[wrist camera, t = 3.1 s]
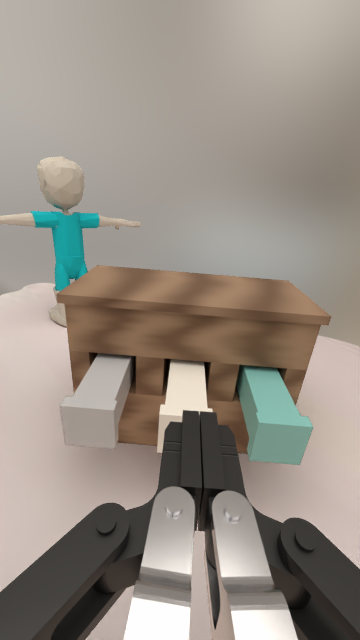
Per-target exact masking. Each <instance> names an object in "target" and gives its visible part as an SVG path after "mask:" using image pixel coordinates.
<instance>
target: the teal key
mask: <svg viewBox="0 0 360 640" xmlns="http://www.w3.org/2000/svg"><path fill="white" fill-rule="evenodd" d="M236 386H237V390H238V394H239V398H240V402H241V407H242V411H243V415H244V419H245V423H246V427H247V431H248V435H249V443H248V447H247V452H248V457H249V461H260V462H272V463H284V464H296V465H300V462H301V459H302V457H303V454H304V451H305V449H306V446H307V443H308V440H309V438H310V435H311V432H312V429H313V426H312V424H311V422H310V420H309V418H308V417H306V416H301V415H300V413H299V411H298V409H297V408H296V406H295V404H294V402H293V400H292V398H291V396H290V394H289V392H288V390H287V388H286V386H285V384H284V382H283V380H282V378H281V376H280V374H279V372H278V370H277V368H275V367H263V366H251V365H240V368H239V374H238V379H237V384H236Z"/></svg>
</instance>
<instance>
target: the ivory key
mask: <svg viewBox="0 0 360 640" xmlns="http://www.w3.org/2000/svg"><path fill="white" fill-rule="evenodd" d="M183 410H190V411H199V414H200V411H205V412H213V410H212V409H211V408H208V407H207V395H206V382H205V369H204V362H203V361H191V360H179V359H171V362H170V369H169V377H168V385H167V393H166V401H165V405H163V404H161V406H160V413H159V429H158V447H157V453H162V451H163V442H164V433H165V429H166V428H167V426H168V425H169V423H170V421H172V422H182V415H183Z"/></svg>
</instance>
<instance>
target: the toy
mask: <svg viewBox="0 0 360 640" xmlns="http://www.w3.org/2000/svg"><path fill="white" fill-rule="evenodd" d="M37 170H38V176H39V181H40V188H41V191H42V193H43V195H44V197H45V199H46V201H47V202H48V203H50V204H51V205H53V206H54V207H56V208H59V209H62V210H63V213H61V212H39V211H31V213H25V214H16V215H7V216H0V224H8V225H21V226H33V227H37V228H38V227H40V228H42V227H43V228H52V233H53V241H54V248H55V257H56V266H55V284H56V286H55V287H54V288H53V289H54V293H55V297H56V301H57V295H56V294H57V293H59V292H60V291H61V290H63V289H64V288H66V287H67V286H69V285H70V280H69V279H74V278H75V281H76V280H77V279H79V278H80V277H81V276H83V275H84V274H86V273H87V272H88V271H87V268H86V264H85V261H84V247H83V235H82V228H97V227H102V226H111V225H112V226H113V225H115V228H116V229H117V230H118V229H119V226H129V227H140V226H141V223H140V222H133V221H127V220H124V219H113V218H108V217H103V216H99V215H98V213H97V214H96V213H94V214H93V213H78V212H74V213H73V214H72V215H71V214H69V213H68V209H70V208H72V207H74V206H76V205H77V204H78V203H79V202H80V201H81V199H82V195H83V190H84V173H83V171H82V170H81V168H80V167H79V166H78V165H77V164H76V163H75V162H72V161H70V160H66V159H65V158H64V157H63V156H60V157H47V158H46V159H42V160H41V162H40V163H39V165H38V166H37ZM57 304H58V305H57V306H55V307H54V308H52V309H51V310H50V311H49V314H50V317H51V318H52V319H53V320H54V321H55V322H56V323H58V324H60V325H63V326H65V327H67V323H66V314H65V305H64V304H63V303H57Z"/></svg>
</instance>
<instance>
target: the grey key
mask: <svg viewBox="0 0 360 640" xmlns="http://www.w3.org/2000/svg"><path fill="white" fill-rule="evenodd" d="M133 377H134V356H131V355H119V354H106V353H98V355H97V357H96V358H95V360H94V362H93V363H92V365H91V366H90V368H89V370H88V371H87V373H86V375H85V376H84V378H83V380H82V381H81V383H80V385H79V386H78V388H77V390H76V391H75V393H74V395H73V396H72V397H67V396H66V397H65V399H64V400H63V402H62V403H61V405H60V410H61V418H62V425H63V432H64V439H65V445H72V446H83V447H95V448H107V449H115V448H116V445H117V441H118V423H119V420H120V417H121V414H122V411H123V408H124V405H125V402H126V399H127V395H128V392H129V389H130V386H131V383H132V380H133Z"/></svg>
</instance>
